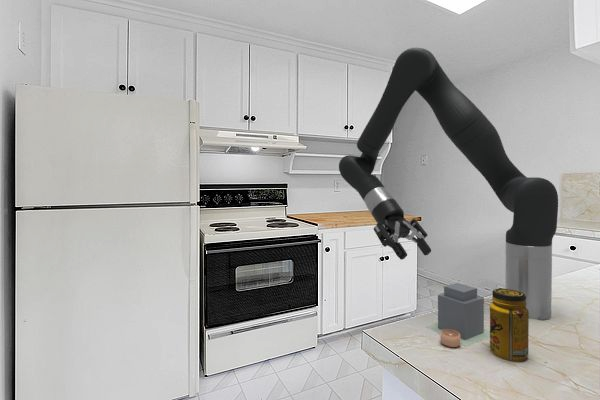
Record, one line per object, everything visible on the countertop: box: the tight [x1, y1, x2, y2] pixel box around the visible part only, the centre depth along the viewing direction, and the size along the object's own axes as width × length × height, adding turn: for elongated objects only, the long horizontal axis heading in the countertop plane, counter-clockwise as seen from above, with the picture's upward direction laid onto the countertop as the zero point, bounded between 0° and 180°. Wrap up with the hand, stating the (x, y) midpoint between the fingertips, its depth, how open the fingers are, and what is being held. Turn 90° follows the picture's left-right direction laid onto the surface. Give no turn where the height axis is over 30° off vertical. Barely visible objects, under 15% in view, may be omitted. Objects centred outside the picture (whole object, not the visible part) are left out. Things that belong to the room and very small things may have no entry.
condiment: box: [489, 287, 548, 364], centre depth 59 cm, size 7×8×12 cm
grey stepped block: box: [437, 282, 485, 340], centre depth 69 cm, size 6×6×10 cm
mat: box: [426, 322, 490, 347], centre depth 69 cm, size 10×10×1 cm
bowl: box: [439, 329, 461, 348], centre depth 63 cm, size 4×4×3 cm
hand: (416, 255), depth 79 cm, fingers open, 8 cm apart
